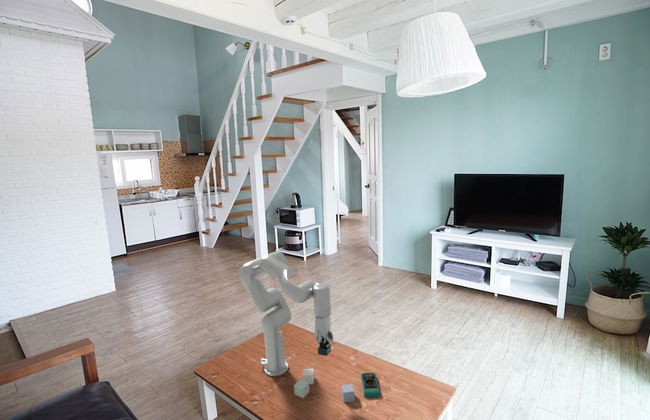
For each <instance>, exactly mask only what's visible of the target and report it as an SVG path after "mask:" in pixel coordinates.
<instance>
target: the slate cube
mask: <svg viewBox="0 0 650 420" xmlns="http://www.w3.org/2000/svg"><path fill="white" fill-rule="evenodd" d="M341 397H342V400H343V403H350V402H355V400H356V398H355V397H356V396H355V388H354V386H353V383H349V384H343V385H342V384H341Z"/></svg>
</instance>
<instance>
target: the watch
mask: <svg viewBox="0 0 650 420" xmlns="http://www.w3.org/2000/svg"><path fill="white" fill-rule="evenodd" d="M318 338H319V335H318V337H317V338H316V337H315V339H316V342H317V344H318V345H319V346H318V347H317V355H320V356H324V357H327V356H328V355H329V353H331V351H332V343H333V340H334V334H333V332H332V331H331V329H330V330H329V331H328V333H327V336H326V340H327V341H328V342H329V344H328V345H327V348H325V349H321V348H320V343H319V342H318Z"/></svg>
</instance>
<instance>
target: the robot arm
mask: <svg viewBox="0 0 650 420" xmlns="http://www.w3.org/2000/svg"><path fill="white" fill-rule="evenodd" d="M286 262H287V258H286V256H285V254H284V253H282V252H281V251H273V252H271V253H268V254H266V255H262V256H261V257H258V258H255V259H253V260H250V261H248V262H246V263H244V264H243V265H241V267H240V268H239V272H238V276H239V279H240V282H241V284H242V285H243V287H244V288H245V289H246V291H247V292H248V295H249V297H250V298H251V301H252V303H253V305H254V306H255V309H256V310H257V311H258V313H262V314H263V313H265V312H267V311H268V313H266V314H265V315H264V316H263V317H262V318H261V321H260V325H261V329H262V332H263V333H262V334H263V339H264V346H265V347H264V348H265V357H266V358H263V357H261V358H260V365H262V366H264V368H263V370H264V373H265V374H266V375H267V376H271V377H279V376H281V375H283V374H285V373H286V372H287V371H288V369H289V363H288V362H287V361H286V357H285V345H284V336H283V333H282V332H281V331H280V329H281V328H282V327H284V326H285V325H286V324H288V323H289V322H290V321H291V319H292V311H291V309H290V307H289V305H288V303H287V301H286V299H285V297H284V295H285V296H287V297H288V299H290V300H292V301H293V302H296V303H298V304H303V303H305V302H307V301H309V300H310V299H312V298H313V305H314V306H313V309H314V316H315V318H314V319H315V320H314V336H315V339H316V338H317V337H318V335H319V338H318V342H319V343H320V345H319V346H320V348H321V349H325V348H327V345H328V344H330V343H329V342H328V341H327V340H326V336H327V333H328V331H329V330H330V331H331V315H332V309H331V307H332V306H331V289H330V286H329V285H328V284H326V283H320V282H318V281H316V280H313V279H308V280H306V281H305V282H303V283H301V284H299V285H298V286H297V285H295V284H293V283H292V282H291V281H290V277H291V275H292V268H291V267H290V266H288V265H287V264H286ZM265 273H266V274H267V275H269V276H270V277H272V278H273V279H274V280H276V281H277V282H278V283H279V284H280V288H281V289H282V292H283V293H282V292H281V291H280V290H279V289H278V288H277V287H270V288H268V289H266V288H265V287H266V286H265V285H264V284H263V282H262V281H261V280H260V279H258V278H257V277H258V276H261V275H263V274H265ZM283 294H284V295H283ZM271 309H273V310H271ZM269 310H271V311H270V312H269ZM318 342H317V343H318Z"/></svg>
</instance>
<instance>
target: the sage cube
mask: <svg viewBox="0 0 650 420" xmlns="http://www.w3.org/2000/svg"><path fill="white" fill-rule="evenodd" d="M293 391H294V395H295V396H297V397H300V398H302V399H304V398H305V397H306V396H307V395H308V394H309V393H310V384H309V382H307V381H304V380H302V379H301V378H300V379H299V380H298V381H297V382H296V383H295V384H294V385H293Z"/></svg>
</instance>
